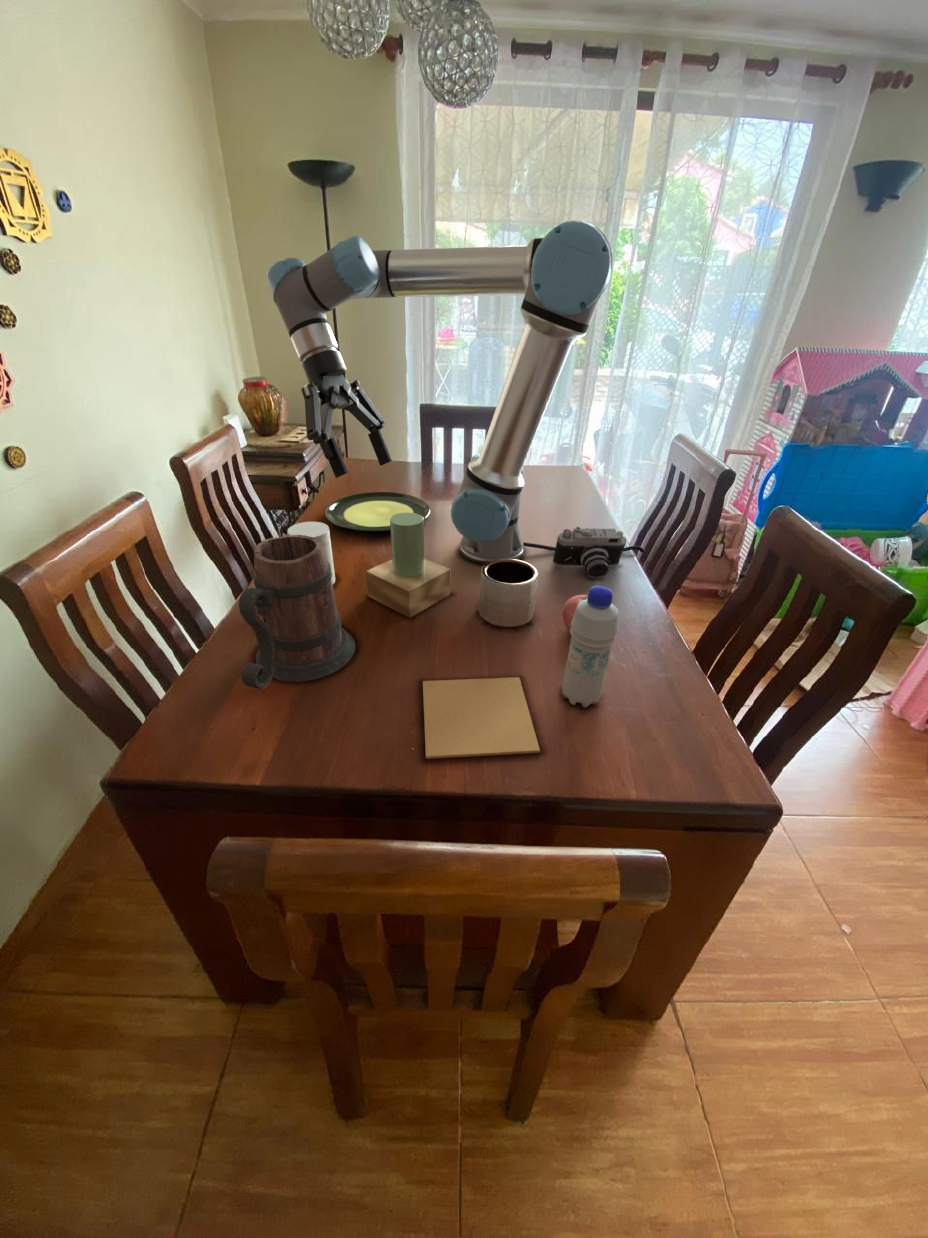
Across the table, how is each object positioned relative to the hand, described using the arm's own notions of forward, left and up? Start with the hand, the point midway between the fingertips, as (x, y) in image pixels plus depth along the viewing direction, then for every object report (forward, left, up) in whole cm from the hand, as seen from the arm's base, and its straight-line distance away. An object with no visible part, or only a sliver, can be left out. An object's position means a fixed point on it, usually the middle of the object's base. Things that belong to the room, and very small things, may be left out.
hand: (365, 469), depth 101 cm
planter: (-27, +16, -24) cm, 40 cm away
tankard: (+12, +29, -24) cm, 40 cm away
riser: (-8, +8, -24) cm, 26 cm away
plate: (0, -34, -24) cm, 41 cm away
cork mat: (-18, +44, -24) cm, 53 cm away
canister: (-8, +8, -18) cm, 21 cm away
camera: (-49, -1, -24) cm, 54 cm away
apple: (-40, +23, -24) cm, 52 cm away
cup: (+12, +1, -24) cm, 27 cm away
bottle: (-35, +41, -24) cm, 59 cm away
